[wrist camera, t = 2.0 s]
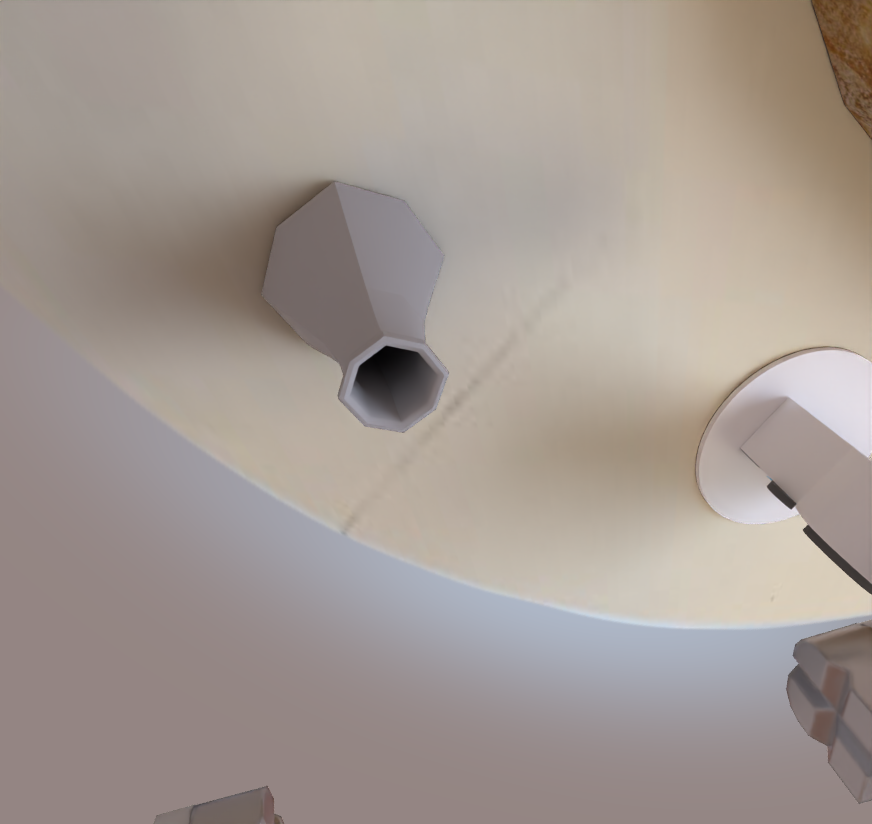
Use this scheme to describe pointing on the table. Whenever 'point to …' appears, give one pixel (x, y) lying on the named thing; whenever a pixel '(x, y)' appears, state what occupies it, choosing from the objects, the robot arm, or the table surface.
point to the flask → (362, 299)
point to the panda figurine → (798, 453)
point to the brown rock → (850, 52)
